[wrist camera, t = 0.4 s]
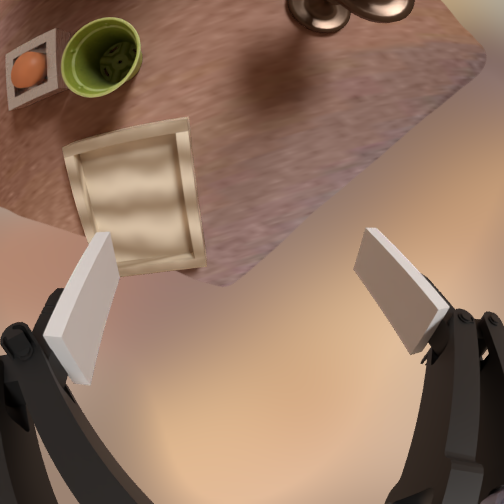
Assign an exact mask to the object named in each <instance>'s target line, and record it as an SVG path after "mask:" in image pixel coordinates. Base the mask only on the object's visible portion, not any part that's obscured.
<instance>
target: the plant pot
mask: <svg viewBox="0 0 504 504" xmlns="http://www.w3.org/2000/svg"><path fill="white" fill-rule="evenodd" d="M115 47H118V48H117V49H116V50H114V51H113V52H111V53H110V54H109V52H110V51H111V50H112V49H113V48H115ZM132 49H135V50H136V51H137V53H136V55H135V53H134V51H133V50H132ZM120 60H121V61H122V63H120V64H119V63H118V61H120ZM141 64H142V53H141V44H140V38H139V35H138V33H137V31H136V30H135V28H134V27H133V26H132V25H131V24H130V23H128V22H126V21H125V20H122V19H119V18H114V17H107V18H101V19H98V20H95V21H92V22H90V23H88V24H87V25H85V26H84V27H82V28H81V29H80V30H79V31H77V32H76V33H75V35H74V36H73V37H72V38H71V39H70V41H69V42H68V44H67V46H66V48H65V50H64V53H63V56H62V60H61V73H62V77H63V80H64V82H65V84H66V85H67V87H68V88H69V89H70V90H71V91H72V92H74V93H76V94H77V95H80V96H83V97H89V98H94V97H100V96H104V95H107V94H109V93H111V92H113V91H115V90H116V89H118V88H119V87H120V86H121V85H122V84H124V83H125V82H126V81H128V80H130V79H131V78H133V77H134V76H135V75H136V74H137V72H138V71H139V69H140V66H141ZM104 69H106V70H107V72H108V74H109V76H107V75H106V74H105V72H104ZM124 76H126V77H124Z"/></svg>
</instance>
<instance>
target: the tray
mask: <svg viewBox="0 0 504 504" xmlns="http://www.w3.org/2000/svg"><path fill="white" fill-rule="evenodd" d="M62 150H63V155H64V160H65V164H66V169H67V173H68V177H69V181H70V185H71V189H72V193H73V196H74V200H75V203H76V207H77V210H78V214H79V217H80V220H81V223H82V226H83V229H84V233H85V235H86V238H87V241H88V244H89V243H90V242H91V240H92V238H93V237H94V235H95V234H96V232H110V233H111V239H112V244H113V249H114V253H115V258H116V263H117V267H118V271H119V276H120V277H124V276H133V275H141V274H150V273H158V272H165V271H175V270H183V269H191V268H199V267H207V260H206V248H205V241H204V235H203V228H202V221H201V214H200V207H199V200H198V192H197V185H196V177H195V169H194V160H193V152H192V143H191V134H190V124H189V117H184V118H177V119H170V120H164V121H159V122H153V123H148V124H143V125H138V126H133V127H128V128H124V129H119V130H115V131H111V132H107V133H103V134H99V135H95V136H92V137H88V138H85V139H81V140H78V141H74V142H72V143H70V144H68V145H66V146H64V147H62Z"/></svg>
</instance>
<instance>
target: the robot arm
mask: <svg viewBox="0 0 504 504" xmlns="http://www.w3.org/2000/svg"><path fill="white" fill-rule="evenodd" d="M354 271H355V272H356V274H357V275H358V276H359V278H360V279H361V280H362V282H363V284H364V285H365V286H366V288H367V289H368V291H369V292H370V294H371V295H372V297H373V298H374V299H375V301H376V302H377V304H378V305H379V307H380V308H381V310H382V311H383V313H384V314H385V316H386V317H387V319H388V320H389V322H390V323H391V325H392V326H393V328H394V330H395V331H396V333H397V334H398V336H399V337H400V339H401V341H402V342H403V344H404V345H405V347H406V349H407V350H408V352H409V354H410V355H412V354H415V353H418V352H421V351H422V350H423V349H424V348H425V346H426V345H427V343H429V344H430V346H431V348H430V349H429V351H428V352H427V354H426V355H425V356H424V358H423V359H422V361H421V364H423V363H424V361H425V360H426V359H427V363H426V364H425V365H426V374H425V380H424V386H423V393H422V398H421V403H420V409H419V413H418V418H417V422H416V427H415V431H414V435H413V439H412V442H411V446H410V450H409V453H408V457H407V460H406V463H405V466H404V469H403V472H402V476H401V478H400V480H399V482H398V483H397V484H396V485H395V486H394V487H393V489H392V490H391V492H390V493H389V495H388V497H387V499H386V501H385V504H504V326H503V324H502V322H501V320H500V318H498V316H497V315H496V314H495V313H492V312H485V313H484V315H483V316H482V318H481V319H474V318H473V316H472V315H471V314H470V313H468V312H467V311H465V310H463V309H456V310H455V309H454V308H453V306H452V305H451V304H450V303H449V302H448V301H447V300H446V298H445V297H444V296H443V295H442V294H441V292H439V291H438V289H437V288H436V287H435V286H434V284H433V283H432V282H431V281H430V280H429V279H428V278H427V277H425V276H424V275H423V274H421V273H420V272H419V271H418V270H417V269H416V268H415V267H414V266H413V265H412V263H411V262H410V261H408V259H407V258H406V257H405V256H404V255H403V254H402V253H401V252H400V251H399V250H398V249H397V248H396V247H395V246H394V245H393V244H392V243H391V242H390V241H389V240H388V239H387V238H386V237H385V236H384V235H383V234H382V233H381V232H380V231H379V230H378V229H377V228H365V232H364V235H363V239H362V242H361V246H360V249H359V253H358V256H357V259H356V263H355V266H354ZM119 279H120V276H119V271H118V267H117V263H116V258H115V253H114V249H113V244H112V239H111V233H110V232H96V234H95V235H94V237H93V238H92V240H91V242H90V243H89V245H88V247H87V248H86V250H85V252H84V254H83V256H82V257H81V259H80V261H79V262H78V264H77V266H76V268H75V270H74V271H73V273H72V275H71V277H70V279H69V281H68V283H67V285H66V287H65V288H57V289H56V290H55V291H54V292H53V293H52V294H51V295H50V296H49V298H48V300H47V302H46V304H45V307H44V308H43V310H42V312H41V314H40V316H39V318H38V320H37V322H36V324H35V327H34V329H33V331H32V332H31V330H30V328H29V327H28V325H27V324H25V323H23V322H17V323H14V324H12V325H10V326H9V327H7V328H6V329H5V331H4V332H3V333H2V336H1V339H0V344H1V346H2V347H3V349H4V350H5V352H6V353H7V355H2V356H0V504H58V502H57V500H56V497H55V495H54V492H53V489H52V487H51V484H50V481H49V478H48V475H47V472H46V469H45V465H44V462H43V459H42V455H41V452H40V448H39V444H38V439H37V435H36V431H35V427H34V424H35V426H36V428H37V431H38V433H39V435H40V437H41V439H42V441H43V443H44V445H45V447H46V449H47V451H48V453H49V455H50V457H51V459H52V460H53V462H54V464H55V466H56V468H57V469H58V471H59V473H60V474H61V476H62V478H63V479H64V481H65V482H66V484H67V486H68V487H69V489H70V490H71V492H72V493H73V495H74V496H75V498H76V499H77V501H78V502H79V503H80V504H154V503H153V502H152V501H151V500H150V499H149V498H148V497H147V496H146V495H145V494H144V493H143V492H142V491H141V489H140V488H139V487H138V486H137V485H136V484H135V483H134V482H133V480H132V479H131V478H130V477H129V476H128V475H127V473H126V472H125V471H124V470H123V469H122V467H121V466H120V465H119V464H118V463H117V461H116V460H115V458H114V457H113V456H112V455H111V453H110V452H109V450H108V449H107V448H106V446H105V445H104V444H103V442H102V441H101V439H100V438H99V437H98V435H97V433H96V432H95V431H94V429H93V427H92V426H91V425H90V423H89V421H88V420H87V418H86V417H85V415H84V413H83V412H82V410H81V408H80V407H79V405H78V403H77V402H76V400H75V398H74V396H73V395H72V393H71V391H70V389H69V387H68V386H67V385H66V380H67V376H69V377H70V379H71V380H72V382H73V383H75V384H83V385H91V381H92V377H93V372H94V367H95V363H96V359H97V355H98V351H99V346H100V343H101V339H102V335H103V332H104V328H105V324H106V321H107V317H108V314H109V311H110V307H111V304H112V300H113V298H114V294H115V291H116V288H117V285H118V282H119ZM487 349H488V352H489V354H488V356H487V357H486V358H485V359H484V360H483V359H482V355H483V354H484V353H485V351H486V350H487Z"/></svg>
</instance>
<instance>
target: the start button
mask: <svg viewBox="0 0 504 504" xmlns="http://www.w3.org/2000/svg"><path fill="white" fill-rule="evenodd" d="M46 76H47V56H46V54H44V53H39V52H25V53H23V54H22V55H21V56H19V57H18V59H17V60H16V61H15V63H14V65H13V67H12V71H11V81H12V83H13V85H14V86H15V87H17V88H26V87H34V86H37V85H39V84H40V83H41V82H42V81H43V80H44V79H45V77H46Z"/></svg>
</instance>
